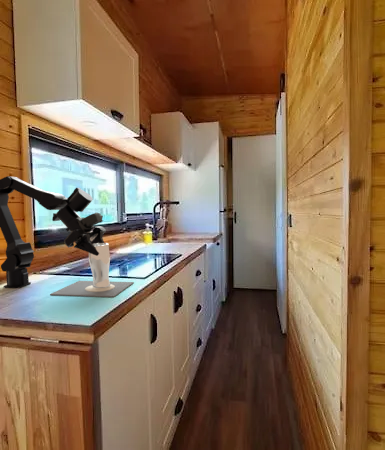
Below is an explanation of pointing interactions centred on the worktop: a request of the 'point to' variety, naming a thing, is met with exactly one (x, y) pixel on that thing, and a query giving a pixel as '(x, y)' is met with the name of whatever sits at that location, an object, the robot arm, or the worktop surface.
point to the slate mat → (92, 289)
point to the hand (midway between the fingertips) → (102, 253)
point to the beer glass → (100, 266)
